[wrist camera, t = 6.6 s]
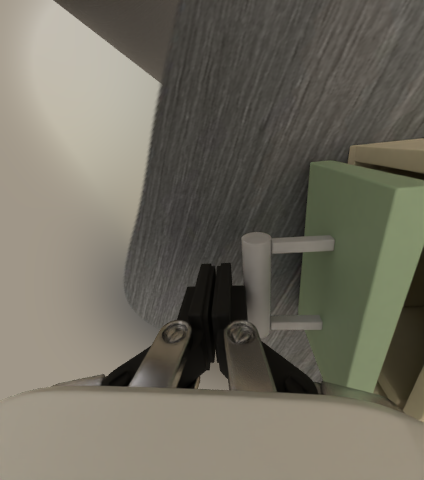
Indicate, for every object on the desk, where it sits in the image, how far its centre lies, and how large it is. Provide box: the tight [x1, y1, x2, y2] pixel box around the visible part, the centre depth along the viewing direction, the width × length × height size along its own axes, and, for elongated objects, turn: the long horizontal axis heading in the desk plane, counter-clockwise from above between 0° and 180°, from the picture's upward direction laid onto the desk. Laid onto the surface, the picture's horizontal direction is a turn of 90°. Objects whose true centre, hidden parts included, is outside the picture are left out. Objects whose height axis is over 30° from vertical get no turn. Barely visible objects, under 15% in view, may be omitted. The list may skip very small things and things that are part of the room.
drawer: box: [242, 160, 424, 409], centre depth 11 cm, size 18×11×7 cm, turn 96°
